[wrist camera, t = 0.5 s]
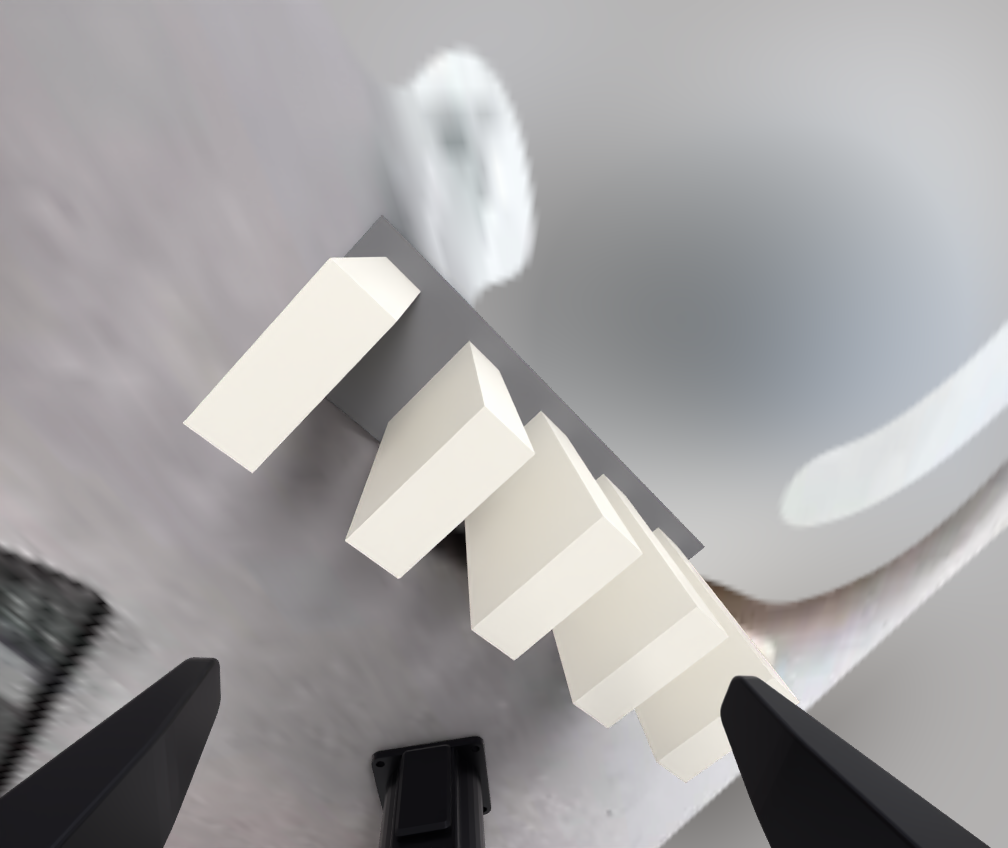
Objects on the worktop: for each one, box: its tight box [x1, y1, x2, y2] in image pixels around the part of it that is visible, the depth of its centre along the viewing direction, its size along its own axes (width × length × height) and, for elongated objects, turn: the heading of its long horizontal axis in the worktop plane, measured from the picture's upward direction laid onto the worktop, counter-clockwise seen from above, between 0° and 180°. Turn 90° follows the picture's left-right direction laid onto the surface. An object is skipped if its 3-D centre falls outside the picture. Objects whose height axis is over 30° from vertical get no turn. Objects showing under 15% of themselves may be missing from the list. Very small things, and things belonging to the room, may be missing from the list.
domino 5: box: [635, 528, 800, 783], centre depth 20 cm, size 5×2×9 cm, turn 134°
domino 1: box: [183, 257, 421, 473], centre depth 14 cm, size 5×2×9 cm, turn 134°
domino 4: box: [552, 474, 729, 729], centre depth 19 cm, size 5×2×9 cm, turn 134°
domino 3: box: [465, 411, 643, 660], centre depth 17 cm, size 5×2×9 cm, turn 134°
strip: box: [325, 215, 704, 560], centre depth 22 cm, size 22×7×1 cm, turn 44°
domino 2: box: [345, 341, 535, 579], centre depth 16 cm, size 5×2×9 cm, turn 134°
